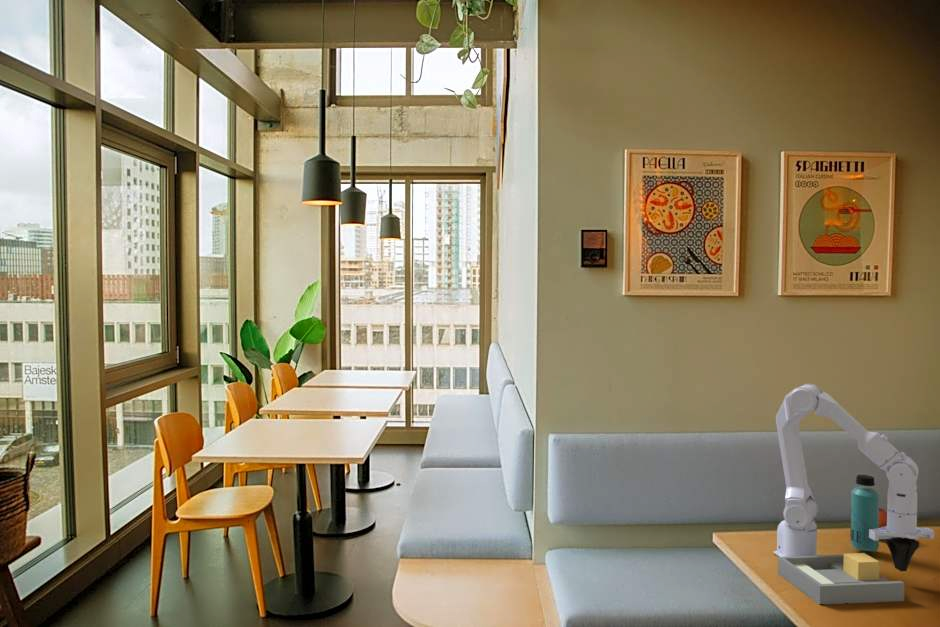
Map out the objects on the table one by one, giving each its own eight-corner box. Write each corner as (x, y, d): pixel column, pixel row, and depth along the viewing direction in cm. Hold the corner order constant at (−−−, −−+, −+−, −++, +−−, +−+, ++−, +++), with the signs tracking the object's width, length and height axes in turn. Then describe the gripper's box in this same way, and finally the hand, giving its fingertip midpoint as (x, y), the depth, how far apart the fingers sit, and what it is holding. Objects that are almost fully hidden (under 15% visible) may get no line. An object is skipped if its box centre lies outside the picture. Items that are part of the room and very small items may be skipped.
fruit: (905, 544, 175) (906, 514, 175) (869, 541, 177) (869, 512, 177) (890, 532, 184) (890, 504, 184) (855, 530, 186) (856, 502, 185)
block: (843, 570, 152) (843, 553, 152) (863, 570, 152) (863, 552, 152) (858, 580, 147) (858, 562, 147) (878, 579, 147) (879, 561, 147)
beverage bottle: (883, 553, 169) (885, 476, 168) (871, 559, 165) (872, 480, 164) (857, 545, 174) (858, 471, 174) (844, 551, 170) (846, 474, 170)
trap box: (777, 573, 156) (778, 556, 156) (854, 570, 158) (854, 554, 158) (819, 604, 140) (820, 586, 140) (904, 601, 142) (904, 582, 142)
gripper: (884, 517, 146) (883, 578, 146) (945, 515, 147) (944, 575, 147) (863, 507, 153) (861, 565, 153) (920, 505, 154) (919, 563, 154)
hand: (900, 569), depth 151 cm, fingers closed
